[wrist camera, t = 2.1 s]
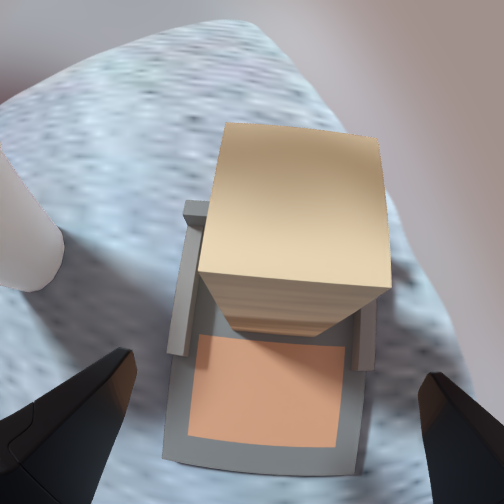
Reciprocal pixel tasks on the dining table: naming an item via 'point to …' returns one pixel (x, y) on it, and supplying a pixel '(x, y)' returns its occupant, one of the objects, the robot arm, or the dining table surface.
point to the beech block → (295, 228)
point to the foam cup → (25, 235)
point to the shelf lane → (261, 384)
